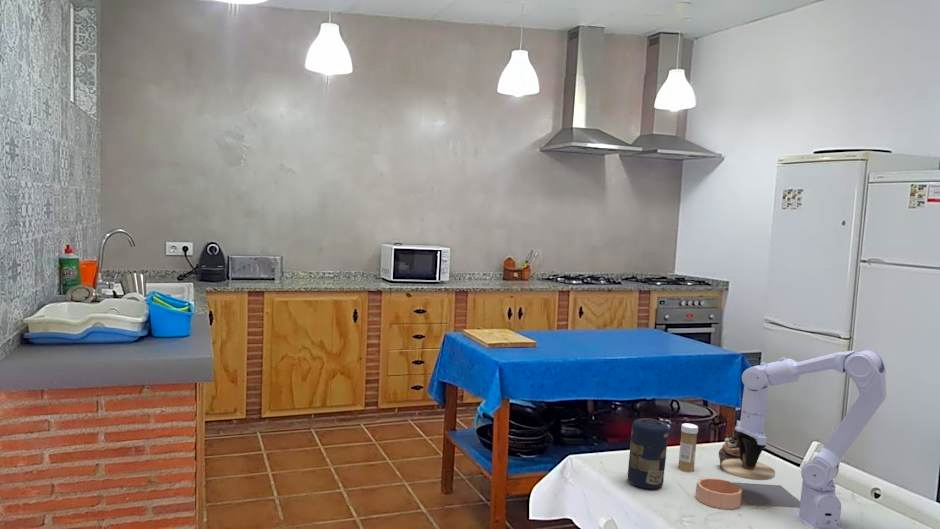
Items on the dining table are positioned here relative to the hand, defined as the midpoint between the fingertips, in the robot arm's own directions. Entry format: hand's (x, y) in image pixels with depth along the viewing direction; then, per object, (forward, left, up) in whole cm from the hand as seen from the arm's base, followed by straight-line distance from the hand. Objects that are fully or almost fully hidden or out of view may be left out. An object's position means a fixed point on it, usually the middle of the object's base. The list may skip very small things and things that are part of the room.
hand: (747, 463), depth 185 cm
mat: (+3, -7, -10) cm, 12 cm away
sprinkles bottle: (+19, +9, -10) cm, 23 cm away
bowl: (-3, +8, -10) cm, 13 cm away
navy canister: (+7, +24, -10) cm, 27 cm away
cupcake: (+21, -6, -10) cm, 24 cm away
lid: (0, 0, -2) cm, 2 cm away
